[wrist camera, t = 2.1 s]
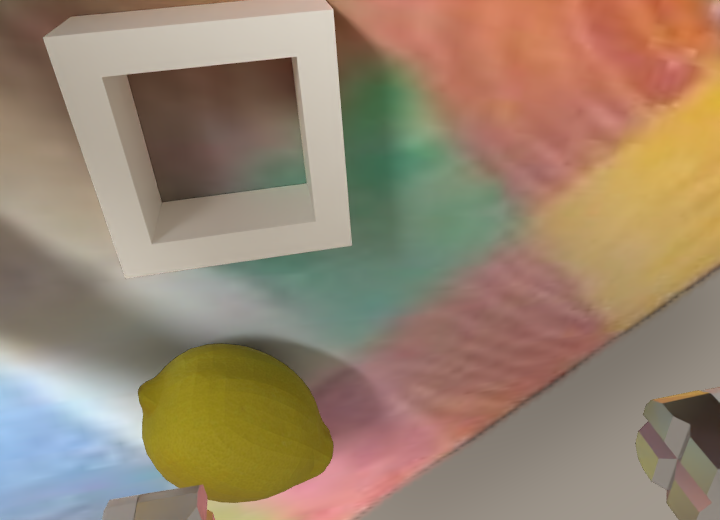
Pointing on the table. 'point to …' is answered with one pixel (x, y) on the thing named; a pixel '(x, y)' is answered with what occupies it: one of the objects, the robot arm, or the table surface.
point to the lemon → (233, 424)
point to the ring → (130, 155)
